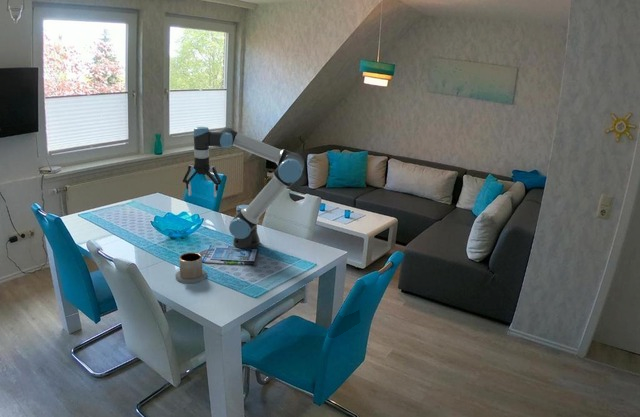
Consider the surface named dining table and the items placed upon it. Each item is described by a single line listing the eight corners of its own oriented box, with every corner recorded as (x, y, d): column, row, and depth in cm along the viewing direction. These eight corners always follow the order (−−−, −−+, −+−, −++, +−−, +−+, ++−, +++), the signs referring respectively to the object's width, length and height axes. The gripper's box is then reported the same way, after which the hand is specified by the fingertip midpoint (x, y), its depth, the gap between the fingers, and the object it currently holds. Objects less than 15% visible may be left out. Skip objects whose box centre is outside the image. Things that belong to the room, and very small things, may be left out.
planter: (193, 267, 254) (192, 250, 251) (207, 274, 248) (206, 257, 245) (175, 274, 246) (174, 256, 243) (188, 281, 240) (188, 263, 237)
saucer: (209, 270, 255) (209, 268, 254) (203, 284, 240) (203, 282, 240) (180, 268, 254) (180, 267, 254) (171, 282, 240) (171, 280, 240)
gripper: (227, 156, 264) (227, 194, 271) (179, 153, 264) (181, 192, 271) (224, 159, 257) (224, 199, 264) (175, 157, 257) (177, 196, 264)
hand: (202, 195), depth 267 cm, fingers open, 13 cm apart
